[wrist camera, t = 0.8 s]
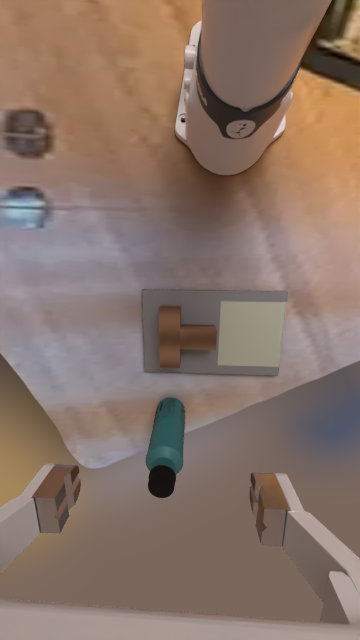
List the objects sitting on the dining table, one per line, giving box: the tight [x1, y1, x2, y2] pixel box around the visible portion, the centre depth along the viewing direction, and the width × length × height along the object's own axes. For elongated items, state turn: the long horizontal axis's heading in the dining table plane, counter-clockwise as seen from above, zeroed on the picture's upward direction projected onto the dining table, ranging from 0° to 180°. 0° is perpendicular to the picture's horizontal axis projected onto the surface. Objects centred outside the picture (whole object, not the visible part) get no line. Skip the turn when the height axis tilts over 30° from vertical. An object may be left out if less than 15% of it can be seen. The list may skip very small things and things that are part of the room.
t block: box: [159, 305, 217, 368], centre depth 43 cm, size 12×11×4 cm
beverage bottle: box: [146, 397, 185, 498], centre depth 41 cm, size 6×7×20 cm
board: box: [142, 289, 288, 376], centre depth 46 cm, size 18×29×1 cm, turn 90°
